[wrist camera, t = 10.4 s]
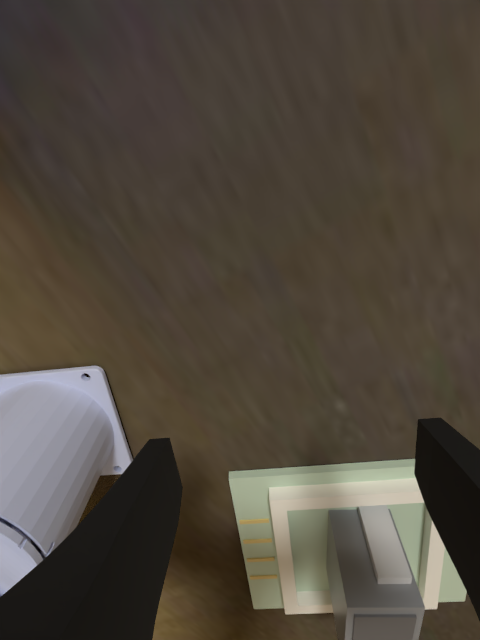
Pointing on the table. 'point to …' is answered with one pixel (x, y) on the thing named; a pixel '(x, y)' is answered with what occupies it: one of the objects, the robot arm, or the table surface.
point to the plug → (371, 577)
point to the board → (312, 528)
